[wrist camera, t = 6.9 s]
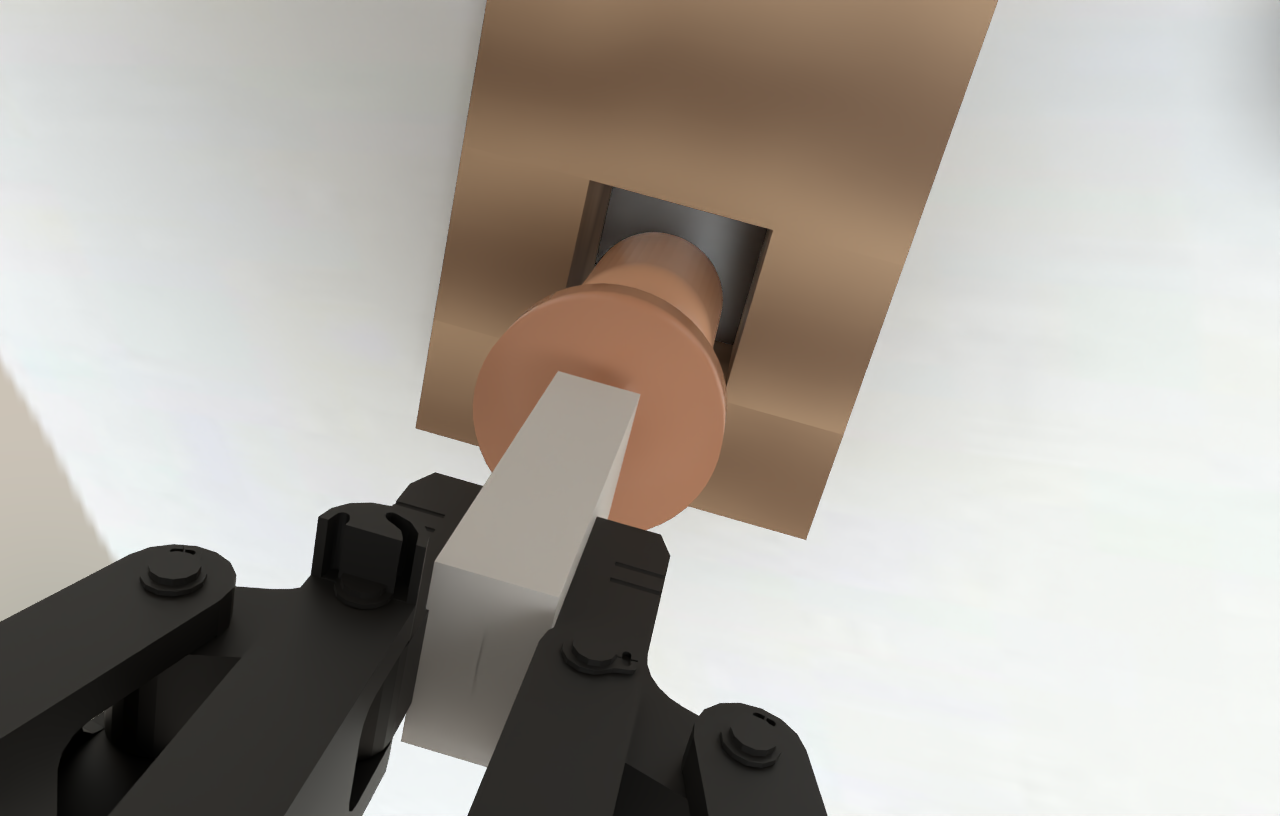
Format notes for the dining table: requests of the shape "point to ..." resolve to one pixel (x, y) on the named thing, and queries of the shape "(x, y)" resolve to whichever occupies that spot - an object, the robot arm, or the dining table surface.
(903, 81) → the socket block
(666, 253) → the plug terracotta
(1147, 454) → the dining table surface
